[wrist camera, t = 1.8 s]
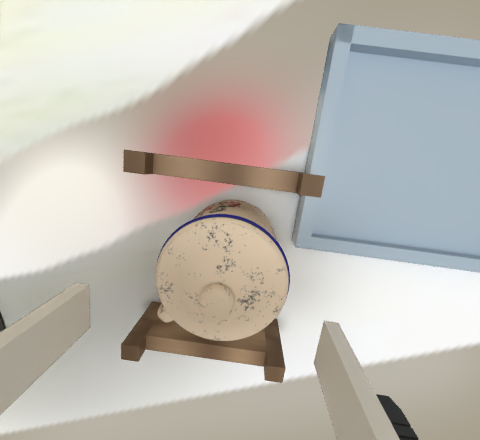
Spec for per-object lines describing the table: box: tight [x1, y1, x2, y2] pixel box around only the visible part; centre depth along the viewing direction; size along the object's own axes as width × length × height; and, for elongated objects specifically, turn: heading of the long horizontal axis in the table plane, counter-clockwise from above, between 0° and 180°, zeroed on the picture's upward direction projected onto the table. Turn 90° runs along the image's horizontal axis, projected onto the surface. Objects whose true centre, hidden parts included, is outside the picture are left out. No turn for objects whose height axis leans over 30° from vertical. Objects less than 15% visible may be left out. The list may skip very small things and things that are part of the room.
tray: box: [292, 23, 480, 272], centre depth 21 cm, size 20×18×2 cm
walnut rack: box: [121, 150, 325, 383], centre depth 21 cm, size 14×18×6 cm
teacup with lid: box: [156, 200, 290, 341], centre depth 19 cm, size 12×9×12 cm
